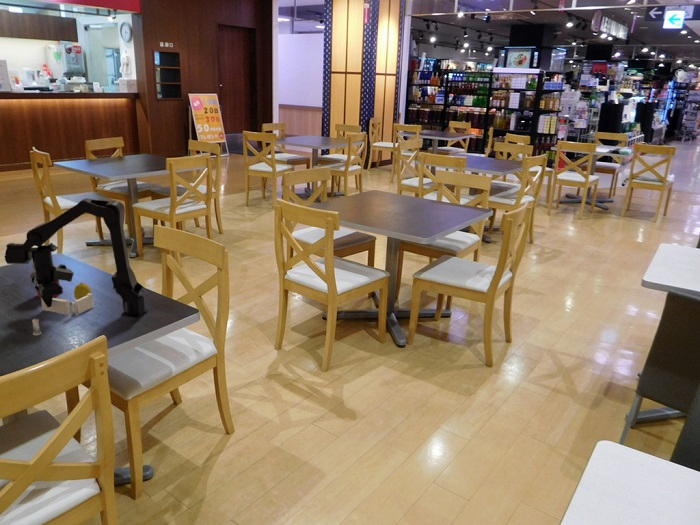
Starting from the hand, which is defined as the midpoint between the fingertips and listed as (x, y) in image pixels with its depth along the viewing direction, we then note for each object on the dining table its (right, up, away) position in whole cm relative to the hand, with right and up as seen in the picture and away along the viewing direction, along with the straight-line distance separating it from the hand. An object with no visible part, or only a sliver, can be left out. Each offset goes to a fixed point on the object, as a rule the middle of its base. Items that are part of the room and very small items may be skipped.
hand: (49, 306), depth 186 cm
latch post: (+3, -8, -13) cm, 15 cm away
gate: (+1, -2, +3) cm, 3 cm away
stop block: (0, -1, +7) cm, 7 cm away
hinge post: (+8, -3, +1) cm, 9 cm away
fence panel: (+9, -2, +5) cm, 11 cm away
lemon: (+6, 0, +12) cm, 13 cm away
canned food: (-10, +3, +17) cm, 20 cm away
